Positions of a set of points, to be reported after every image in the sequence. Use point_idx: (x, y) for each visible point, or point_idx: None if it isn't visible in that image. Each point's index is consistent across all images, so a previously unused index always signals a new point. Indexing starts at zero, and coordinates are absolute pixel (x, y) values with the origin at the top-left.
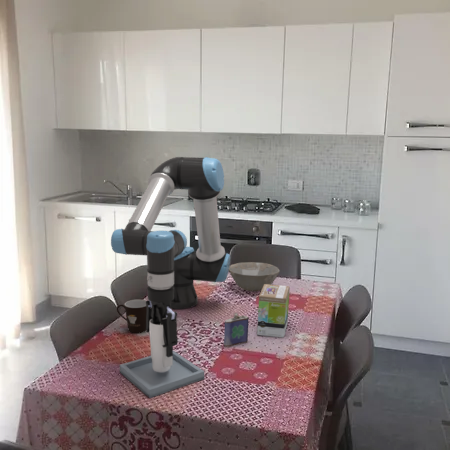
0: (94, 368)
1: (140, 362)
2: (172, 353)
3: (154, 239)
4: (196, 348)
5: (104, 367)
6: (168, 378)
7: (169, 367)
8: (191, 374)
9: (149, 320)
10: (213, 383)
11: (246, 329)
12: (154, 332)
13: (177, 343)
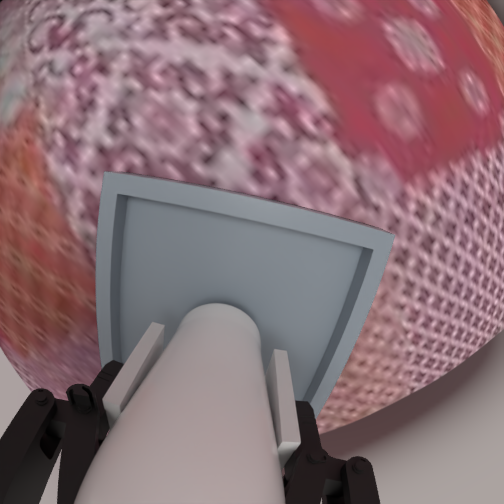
0: (68, 384)
1: (114, 336)
2: (314, 415)
3: None
4: (151, 44)
5: (72, 371)
6: (277, 337)
7: (259, 335)
8: (366, 295)
9: (39, 487)
10: (419, 231)
11: None
12: None
13: (371, 465)
